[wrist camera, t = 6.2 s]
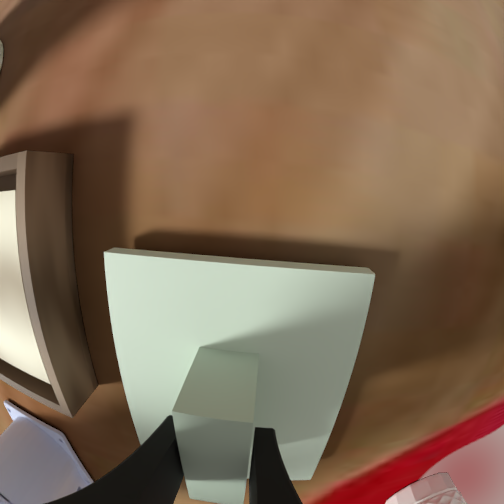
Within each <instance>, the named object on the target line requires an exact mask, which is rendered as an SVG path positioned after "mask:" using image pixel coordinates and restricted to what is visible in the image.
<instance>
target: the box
mask: <svg viewBox="0 0 504 504" xmlns="http://www.w3.org/2000/svg"><path fill="white" fill-rule="evenodd" d="M72 168H73V154H66V153H55V152H43V151H28V150H26V151H22V152H18V153H14V154H10V155H7V156H3V157H0V379H1V380H3V381H4V382H6V383H7V384H9V385H10V386H12V387H14V388H15V389H17V390H19V391H20V392H22V393H24V394H26V395H27V396H29V397H31V398H33V399H35V400H37V401H38V402H40V403H42V404H44V405H46V406H48V407H50V408H52V409H54V410H56V411H58V412H61V413H63V414H65V415H67V416H69V417H72V418H73V417H74V416H75V414H76V413H77V412H78V410H79V409H80V408H81V407H82V405H83V404H84V403H85V402H86V400H87V399H88V398H89V396H90V395H91V394H92V393H93V391H94V390H95V389H96V388H97V386H98V383H97V379H96V376H95V372H94V368H93V365H92V361H91V357H90V353H89V349H88V344H87V340H86V335H85V330H84V325H83V320H82V314H81V309H80V302H79V296H78V289H77V281H76V273H75V263H74V251H73V236H72Z"/></svg>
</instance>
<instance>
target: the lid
mask: <svg viewBox="0 0 504 504" xmlns="http://www.w3.org/2000/svg"><path fill="white" fill-rule="evenodd" d="M104 262H105V275H106V286H107V295H108V303H109V311H110V318H111V325H112V331H113V337H114V343H115V349H116V354H117V359H118V364H119V368H120V373H121V377H122V382H123V386H124V390H125V394H126V398H127V402H128V405H129V409H130V412H131V416H132V419H133V423H134V426H135V429H136V432H137V435H138V438H139V441H140V444H141V445H142V444H143V443H144V442H145V441H146V440H147V439H148V438H149V437H150V436H151V434H152V433H153V432H154V431H155V430H156V429H157V428H158V427H159V426H160V424H161V423H162V422H163V421H164V420H165V418H166V417H167V416H169V415H172V416H173V422H174V427H175V433H176V439H177V444H178V449H179V454H180V459H181V463H182V468H183V472H184V477H185V481H186V485H187V489H188V493H189V497H190V498H191V499H196V500H201V501H207V502H214V503H221V504H243V503H244V496H245V488H246V480H247V478H249V476H250V466H251V456H252V448H253V440H254V431H255V427H262V428H273V429H274V430H275V433H276V439H277V443H278V447H279V451H280V454H281V457H282V460H283V463H284V465H285V468H286V470H287V473H288V475H289V478H290V480H311V478H312V475H313V473H314V471H315V469H316V467H317V465H318V462H319V460H320V458H321V456H322V453H323V451H324V449H325V446H326V444H327V441H328V439H329V436H330V434H331V431H332V429H333V426H334V423H335V421H336V418H337V415H338V413H339V410H340V407H341V404H342V401H343V398H344V396H345V393H346V389H347V386H348V383H349V380H350V377H351V374H352V370H353V367H354V364H355V360H356V357H357V353H358V349H359V346H360V342H361V338H362V334H363V330H364V326H365V322H366V318H367V314H368V309H369V305H370V300H371V295H372V290H373V285H374V280H375V273H374V272H372V271H371V270H370V269H369V268H365V267H351V266H337V265H324V264H311V263H297V262H284V261H271V260H259V259H246V258H234V257H221V256H209V255H197V254H185V253H173V252H161V251H149V250H138V249H126V248H115V247H114V248H112V249H110V250H107V251H105V252H104Z"/></svg>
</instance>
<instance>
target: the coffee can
mask: <svg viewBox="0 0 504 504" xmlns="http://www.w3.org/2000/svg"><path fill="white" fill-rule="evenodd" d="M2 61H3V44H2V42H1V40H0V71H1V67H2Z"/></svg>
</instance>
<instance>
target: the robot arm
mask: <svg viewBox="0 0 504 504" xmlns="http://www.w3.org/2000/svg"><path fill="white" fill-rule="evenodd" d="M4 405H5V407H6V408H7V410H8V412H9V414H10V416H11V417H12V419H13V422H12V423H11V424H10V425H9V427H8V428H7V429H6V430H5V431H4V432H3V433H2V434H1V435H0V504H173V503H174V500H175V497H176V495H177V492H178V490H179V487H180V484H181V481H182V479H183V476H184V472H183V468H182V463H181V459H180V454H179V449H178V444H177V439H176V433H175V427H174V422H173V416H172V415H169V416H167V417H166V418H165V420H164V421H163V422H162V423H161V424H160V426H159V427H158V428H157V429H156V430H155V431H154V432H153V433H152V434H151V436H150V437H149V438H148V439H147V440H146V441H145V442H144V443H143V444H142V445H141V446H140V447H139V448H138V449H137V450H136V451H134V452H133V453H132V454H131V455H130V456H129V457H128V458H127V459H125V460H124V461H123V462H122V463H121V464H119V465H118V466H117V467H116V468H114V469H113V470H112V471H110V472H109V473H107V474H106V475H104V476H103V477H101V478H100V479H98V480H97V481H95V482H94V481H93V480H92V479H91V477H90V476H89V474H88V473H87V471H86V470H85V468H84V467H83V465H82V464H81V462H80V460H79V459H78V457H77V456H76V454H75V452H74V451H73V449H72V447H71V446H70V444H69V442H68V440H67V439H66V437H65V435H64V434H63V433H62V432H61V431H59V430H57V429H55V428H53V427H51V426H49V425H47V424H46V423H44V422H42V421H40V420H38V419H36V418H35V417H33V416H31V415H30V414H28V413H26V412H25V411H23V410H21V409H20V408H18V407H17V406H15V405H13V404H12V403H10V402H9V401H7V400H5V401H4ZM249 503H250V504H303V503H302V502H301V500H300V498H299V496H298V494H297V492H296V490H295V488H294V486H293V484H292V482H291V480H290V478H289V475H288V473H287V470H286V468H285V465H284V463H283V460H282V457H281V454H280V451H279V447H278V443H277V439H276V433H275V430H274V429H273V428H262V427H255V431H254V440H253V448H252V456H251V466H250V476H249Z"/></svg>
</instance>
